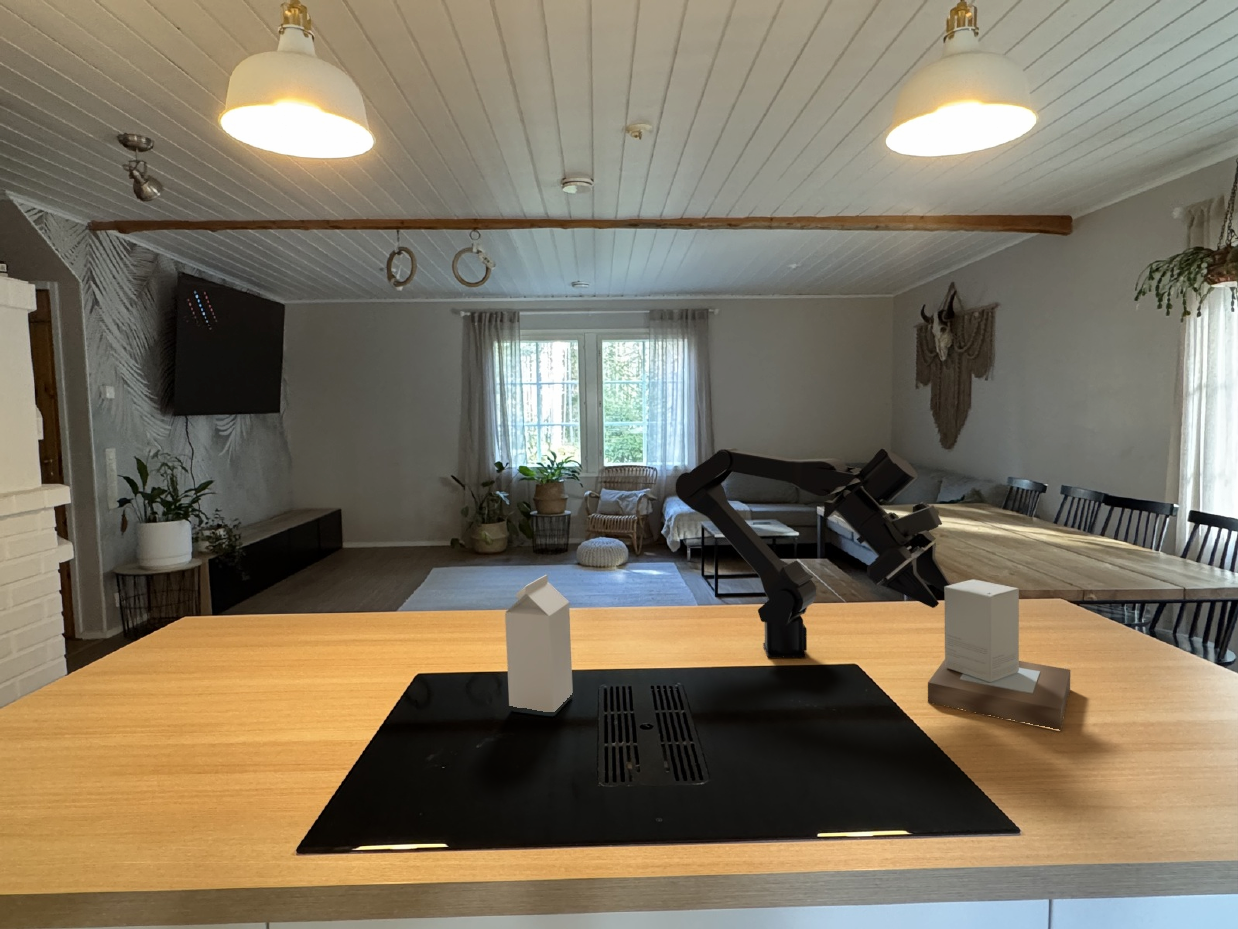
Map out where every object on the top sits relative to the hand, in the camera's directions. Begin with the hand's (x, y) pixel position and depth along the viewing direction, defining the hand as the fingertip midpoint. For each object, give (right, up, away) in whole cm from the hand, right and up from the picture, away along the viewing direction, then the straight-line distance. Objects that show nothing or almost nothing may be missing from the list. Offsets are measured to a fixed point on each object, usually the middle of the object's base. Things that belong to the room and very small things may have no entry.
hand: (943, 598), depth 102 cm
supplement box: (+5, -10, -2) cm, 12 cm away
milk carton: (-61, -16, -2) cm, 63 cm away
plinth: (+6, -13, -4) cm, 15 cm away
